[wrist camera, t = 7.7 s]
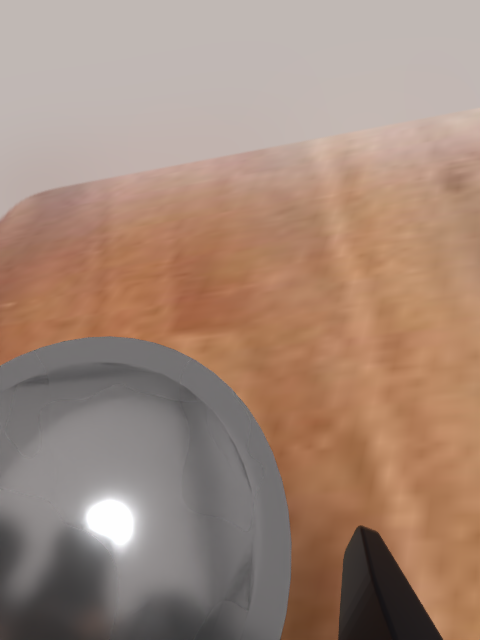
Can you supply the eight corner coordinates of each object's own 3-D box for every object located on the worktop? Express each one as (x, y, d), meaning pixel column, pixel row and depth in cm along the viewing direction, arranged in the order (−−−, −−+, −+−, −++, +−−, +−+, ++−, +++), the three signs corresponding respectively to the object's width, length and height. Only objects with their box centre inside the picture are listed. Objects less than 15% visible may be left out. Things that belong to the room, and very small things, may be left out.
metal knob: (281, 552, 14) (419, 732, 3) (140, 619, 13) (-269, 1156, 3) (230, 415, 17) (218, 272, 6) (107, 464, 16) (-177, 399, 5)
